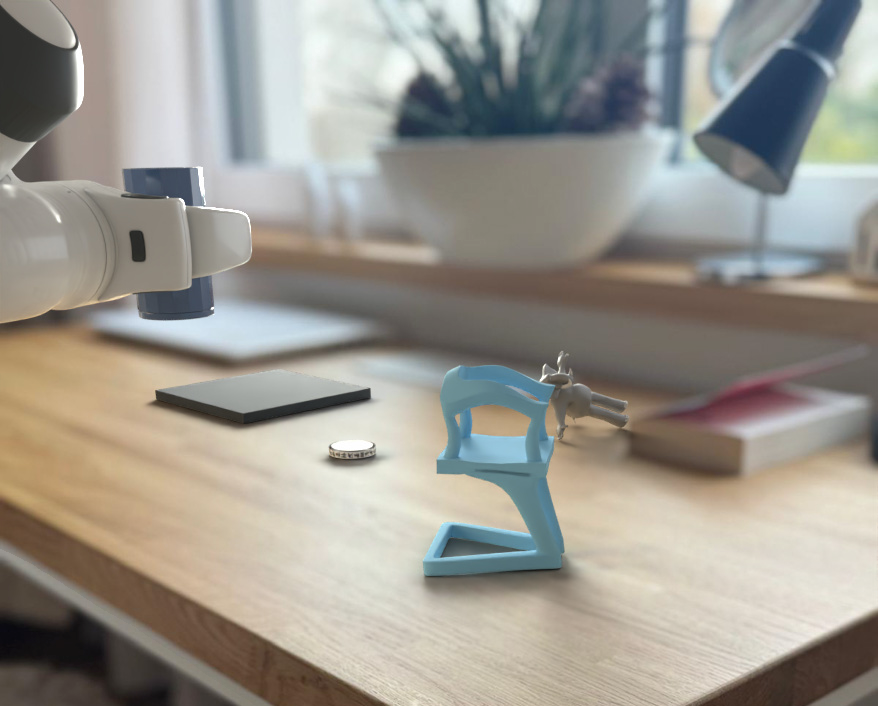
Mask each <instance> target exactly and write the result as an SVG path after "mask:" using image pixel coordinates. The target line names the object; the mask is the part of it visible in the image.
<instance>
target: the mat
mask: <svg viewBox="0 0 878 706" xmlns="http://www.w3.org/2000/svg"><path fill="white" fill-rule="evenodd" d="M154 392H155V393H154V394H155V400H157V401H159V402H160V401H161V402H164V403H169V404H171V405H176V406H179V407H183V408H187V409H190V410H193V411H196V412H200V413H204V414H208V415H210V416H211V415H212V416H214V417H215V416H216V417H219V418H222V419H226V420H230V421H234V422H236V423H241V424H250V423H253V422H255V423H256V422H259V421H263V420H268V419H273V418H278V417H283V416H289V415H293V414H297V413H303V412H307V411H312V410H316V409H321V408H326V407H331V406H336V405H341V404H346V403H351V402H355V401H360V400H364V399H370V398H371V397H372V389H371V387H367V386H363V385H357V384H353V383H348V382H343V381H339V380H334V379H329V378H324V377H319V376H315V375H310V374H306V373H301V372H295V371H291V370H286V369H282V368H274V369H270V370H264V371H258V372H253V373H247V374H241V375H235V376H229V377H223V378H217V379H211V380H205V381H199V382H194V383H189V384H183V385H177V386H171V387H166V388H159V389H155V391H154Z"/></svg>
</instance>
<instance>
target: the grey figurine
mask: <svg viewBox="0 0 878 706" xmlns="http://www.w3.org/2000/svg"><path fill="white" fill-rule="evenodd" d="M569 356H570V354H569V353H566V354H565V350H561V351H560V352H559V353H558V357H557V358H558V359H557V362H556V366H558V371H556V370H555V369H553V368H552V367H550V366H549V365H548V363H545V364H544V365H543V366H542V370H541V371H542V372H541V373H542V376H541V378H540V379H539V380H538V381H539V382H542V383H546V384H551V385H555V388H554V391H553V393H552V395H551V397H550V400H549V404H550V406H552V408H553V411H554V417H555V420H556V423H557V427H556V429H555V434H556V436H557V438H556V439H557V440H558V441H561V440H562V439H563V437H564V432H565V430H566V428H569V425H568V424H566V421H565V420H566V417H570V418H571V419H572V421H573V422H574V424H575V425H576V423H577V422H576V419H581V418H582V419H583V418H584V417H590V418H593V419H597V420H601V421H603V422H606V423H609V424H611V425H613V426H615V427H618V428H620V429H622V428H624V427H626V425H627V424H628V423H629V419H630V416H629V414H622V413H623V412H625V410H626V409H627V407H628V404H629V402H628V401H627V400H622V399H617V398H613V397H611V396H607V395H603V394H601V393H598V392H595V391H592V389H591V388H589V386H587V385H585V384H582V383H575V382H574V381H575V379H574V377H573V370H572V368H571V367H569V372H568V374H567V373H566V366H567V361H568V359H569ZM574 383H575V384H574Z"/></svg>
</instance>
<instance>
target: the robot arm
mask: <svg viewBox="0 0 878 706" xmlns="http://www.w3.org/2000/svg"><path fill="white" fill-rule="evenodd" d="M84 76H85V75H84V61H83V53H82V47H81V43H80V40H79V36H78V33H77V32H76V30H75V27H74V26H73V25H72V23H71V22H70V20H69V19H68V18H67V16H66V15H65V14H64V13H63V11H61V9H60V8H59V7H58V6H57V5H56V4H55V3H54V2H53V1H52V0H0V324H5V323H11V322H17V321H23V320H26V319H32V318H36V317H38V316H42V315H43V314H45V313H48V312H49V311H50V310H52V311H66V310H72V309H76V308H80V307H81V308H82V307H85V306H89V305H95V304H99V303H105V302H106V303H107V302H112V301H115V300H119V299H122V298H125V297H127V296H128V297H129V296H131V295H136V294H141V293H155V292H169V291H178V290H184V289H187V288H189V287H191V285H192V279H193V278H199V277H205V276H209V275H211V276H212V275H216V274H220V273H222V272H227V271H229V270H231V269H234V268H237V267H239V266H242V265H244V264H246V263H248V262H249V261H250V260H251V257H252V252H253V242H252V231H251V230H252V229H251V223H250V218H249V217H248V215H247V214H246V213H244V212H242V211H240V210H233V209H225V208H216V207H206V206H205V207H196V206H185V205H184V201H183V200H182V199H180V198H168V197H167V196H151V195H143V194H137V193H129V192H126V191H124V189H119V188H116V187H113V186H110V185H109V186H108V185H104V184H102V183H100V182H96V181H94V180H89V179H68V180H51V181H50V180H49V181H34V182H27V181H23V180H21V179H20V178H18V177H17V175H15V173H14V171H13V170H12V169H13V168H14V167H15V166H16V165H17V164H18V163H19V162H20V161H21V159H23V157H24V156H25V155H26V154H27V153H28V152H29V151H30V150H31V149H32V148H33V146H34V145H35V144H36V143H38V142H39V141H41V140H43V139H44V138H45V137H46V136H47V135H49V134H50V133H51V132H52V131H53V130H55V129H56V128H57V127H58V126H59V125H61V124H62V123H63V122H64V121H65V120H67V118H69V117H70V116H71V115H73V113H75V112H76V111H77V110H78V109H79V108H80V107H81V105H82V102H83V99H84V87H85V85H84V84H85V83H84V81H85V77H84Z"/></svg>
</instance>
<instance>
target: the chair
mask: <svg viewBox="0 0 878 706" xmlns="http://www.w3.org/2000/svg"><path fill="white" fill-rule="evenodd" d="M539 381H540V380H536V379H534V378H532V377H529V376H527V375H526V374H523V373H522V372H519V371H517V370H515V369H513V368H509V367H506V366H505V365H497V364H488V365H486V364H485V365H478V366H477V365H476V366H466V365H458V366H456V367H454V368H451V369H449V370H448V371H447V372H446V374H445V375H444V378H443V381H442V385H441V388H440V392H439V393H440V394H439V402H440V407H441V412H442V416H443V419H444V422H445V426H446V431H447V442H446V446H445V447H444V449H443V450H442V451H441V452H440V453H439V455H438V457H437V458H436V474H437V475H455V476H456V475H466V476H468V477H471V478H474V479H478V480H482V481H485V482H489V483H491V484H494V485H495V486H498V487H499V488H500V489H502V490H503V491H504V492H505V493H506V494H507V495H508V496H509V497H510V499H511V501H512V502H513V504H514V505H515V507H516V508H517V511H518V512H519V514H520V516H521V518H522V520H523V521H524V524H525V526H526V528H527V530H528V532H529V533H528V532H522V531H515V530H511V529H504V528H498V527H497V528H496V527H491V526H484V525H479V524H472V523H465V522H458V521H457V522H456V521H445V522H443V523H442V524H441V525H440V526H439V529H438V530H437V532H436V534H435V536H434V538H433V540H432V542H431V544H430V545H429V548H428V550H427V552H426V554H425V555H424V557H423V560H422V568H423V569H422V570H423V575H424V576H427V577H437V576H453V575H470V574H480V573H481V574H482V573H495V572H496V573H497V572H512V571H524V570H529V571H530V570H554V569H555V570H556V569H561V568H562V567H563V561H562V555H563V554H564V553H565V552H566V551H565V541H564V537H563V533H562V530H561V527H560V523H559V519H558V516H557V513H556V509H555V506H554V503H553V499H552V495H551V492H550V487H549V483H548V479H547V475H548V472H549V468H550V463H551V459H552V457H553V454H554V451H555V436H554V435H548V433H547V427H546V418H547V417H546V416H547V412H548V407H549V405H550V400H551V399H550V397H551V395H552V393H553V391H554V388H555V385H551V384H546V383H542V382H539ZM512 387H514V388H516V389H519V390H522V391H523V392H526V393H527V394H530V395H531V396H533V397H534V398H536V399H537V400H536V399H533V398H531V397H528V396H526V395H525V394H522V393H521V392H519V391H517V390H516V389H514V388H512ZM491 405H493V406H498V407H499V406H501V407H505V408H507V409H510V410H513V411H516V412H518V413H519V414H522V415H524V416H525V417H527V418H529V419H530V422H529V425H528V428H527V430H526V435H517V436H512V435H511V436H509V435H490V434H481V433H472V430H473V414H472V410H471V409H474V408H477V407H482V406H491ZM457 415H459V424H458V421H457V419H456V416H457ZM452 538H454V539H461V540H466V541H472V542H478V543H483V544H488V545H493V546H499V547H504V548H509V549H515V550H519V551H508V552H495V553H483V554H470V555H459V556H447V557H446V556H445V557H441V556H442V554H443V553H444V551H445V548H446V546H447V544H448V542H449V540H450V539H452Z"/></svg>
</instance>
